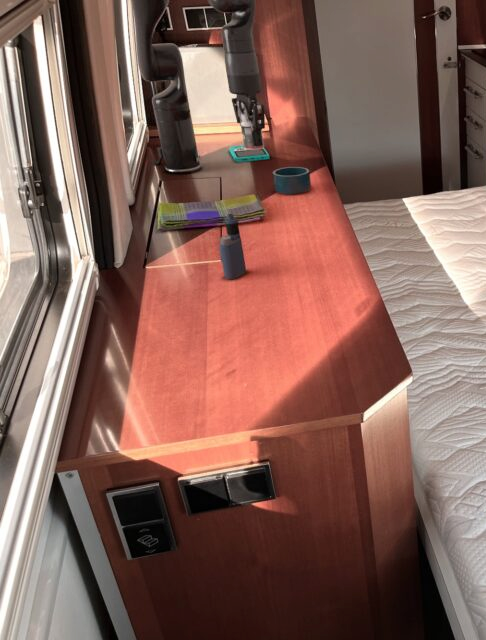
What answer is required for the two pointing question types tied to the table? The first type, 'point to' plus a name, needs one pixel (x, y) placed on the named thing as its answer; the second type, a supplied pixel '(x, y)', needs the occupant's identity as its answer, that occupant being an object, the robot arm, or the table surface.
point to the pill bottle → (248, 135)
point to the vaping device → (232, 250)
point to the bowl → (292, 180)
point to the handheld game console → (248, 154)
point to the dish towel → (209, 212)
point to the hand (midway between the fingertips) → (253, 143)
